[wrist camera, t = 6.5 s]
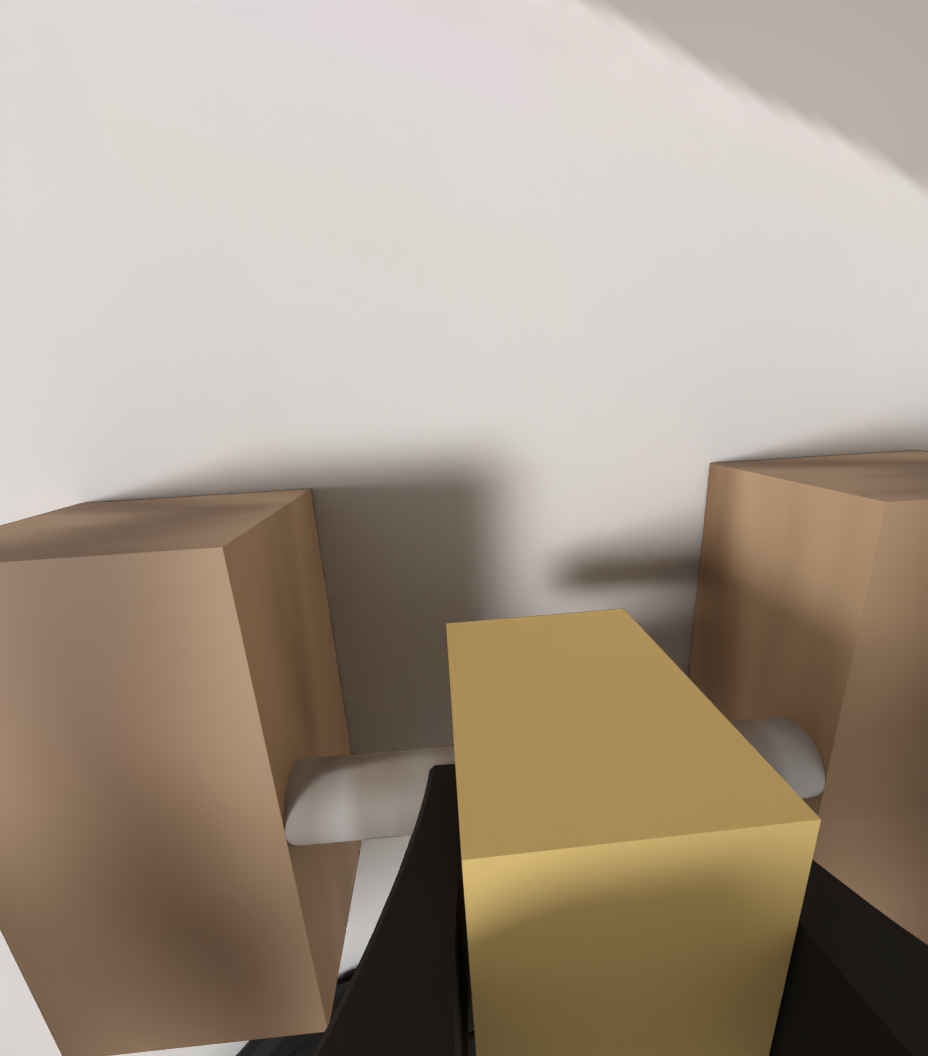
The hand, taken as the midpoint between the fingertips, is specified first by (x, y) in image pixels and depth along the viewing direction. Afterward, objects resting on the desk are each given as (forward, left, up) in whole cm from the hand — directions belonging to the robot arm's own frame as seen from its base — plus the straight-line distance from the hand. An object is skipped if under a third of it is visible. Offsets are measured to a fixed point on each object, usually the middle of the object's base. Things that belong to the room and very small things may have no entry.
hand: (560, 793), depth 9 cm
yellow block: (0, 0, -2) cm, 2 cm away
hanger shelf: (0, 0, -5) cm, 5 cm away
